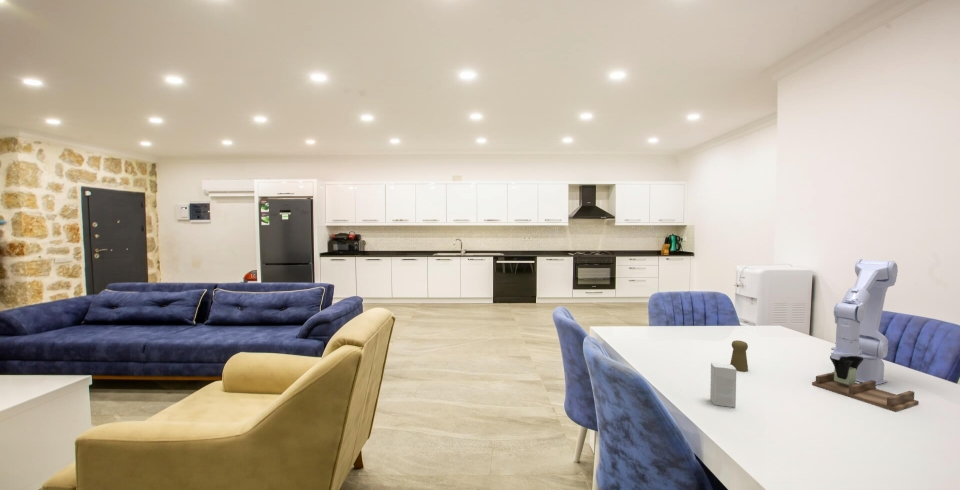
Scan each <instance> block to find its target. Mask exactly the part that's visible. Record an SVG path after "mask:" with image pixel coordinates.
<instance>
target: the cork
mask: <svg viewBox="0 0 960 490" xmlns="http://www.w3.org/2000/svg"><path fill="white" fill-rule="evenodd" d="M748 347H749V346H748V343H747V342H746V341H742V340H733V341H732V342H731V348H732V352H731V353H732V354H731V357H730V364H729V365H733V366H734V367H735V368H736V372H741V373H748V372H749V366H748V359H747V358H748V356H747V350H748Z"/></svg>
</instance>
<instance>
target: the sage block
mask: <svg viewBox="0 0 960 490" xmlns="http://www.w3.org/2000/svg"><path fill="white" fill-rule="evenodd" d="M833 372H834V380H835V381H838V382H841V383H845V384H848V385H850V384H854V383H856V381H855V379H856V368H852V367H850V368H849V371H848V376H847V378H846V379H841V378H838V377H837V374H836V370H835V368H834V369H833Z"/></svg>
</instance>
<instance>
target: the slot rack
mask: <svg viewBox="0 0 960 490" xmlns="http://www.w3.org/2000/svg"><path fill="white" fill-rule="evenodd" d="M811 385H812V386H815V387H817V388H820V389H824V390H827V391H830V392H833V393H836V394H840V395H842V396H845V397H849V398H852V399H855V400H858V401H861V402H863V403H867V404H870V405H874V406H877V407H880V408H883V409H886V410H888V409H889V411H891V410H892V411H891V412H894V413H897V412H899V411H903V410H905V409H909V408H911V407H914V406H918V405H919V404H920V403H919V400H916V399H915V391H912V390H908V391H904V392H901V393H897V394H895V393H892V392H889V391H885V390H882V389H878V388H877V385H876V381H873V380H871V381H867V382H863V383H862V382H859V383H858V382H855V383H854V384H850V385H848V384H845V383H841V382H838V381H835V380H834V371H833V372H828V373H824V374H819V375H816V376H815V381H812V383H811Z"/></svg>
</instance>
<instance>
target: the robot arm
mask: <svg viewBox="0 0 960 490" xmlns="http://www.w3.org/2000/svg"><path fill="white" fill-rule="evenodd" d="M854 272H855V275H856V277H857V278H856V281H855V283H854V286H853V287H850V288H848V289H847V291H846V292H845V295H844V297H843V299H842V300H841V301H840V302H838V303H836V304H835V306H833V307H834V309H833V316H834V317H833V318H834V324H835V325H836V326H835V327H836V330H835V347H831V348H830V350H831V351H832V352H831V353H830V355H829V359H830V361H831V362H832V364H833V366H834V369H835V370H836V374H837V377H838V378H841V379H846V378H847V376H848V371H849V368H850V367H852V368H856V379H855V382H859V383H863V382H867V381H871V380H873V381H876V386H878V385H881V384H884V383H887V382H888V380H886V379H884V375H885V364H884V363H885V362H884V361H883V359H885V358H886V357H887V355H888V350H889V345H888V344H889V340H888V338H887V337H886V336H885V335H884V334H883V333H881V332H880V331H879V329H880V325H881V319H882V314H883V309H884V306H885V305H884V304H885V298H886V293H887V292H888V288H890V287H893V286H895V284H896V282H897V279H898V278H897V277H898V263H897V262H896V261H894V260H890V261H889V260H876V259H875V260H872V259H863V258H862V259H861V258H860V259H858V260H856V262H855V264H854Z"/></svg>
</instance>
